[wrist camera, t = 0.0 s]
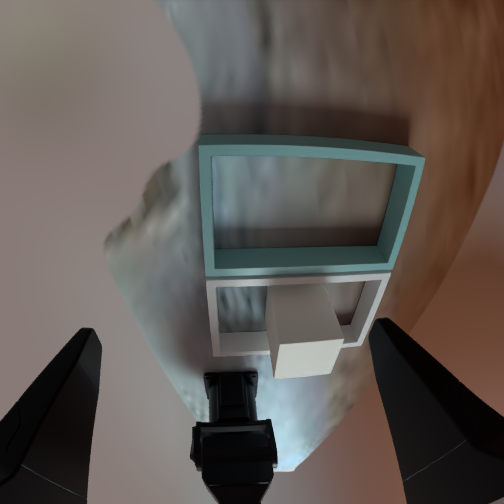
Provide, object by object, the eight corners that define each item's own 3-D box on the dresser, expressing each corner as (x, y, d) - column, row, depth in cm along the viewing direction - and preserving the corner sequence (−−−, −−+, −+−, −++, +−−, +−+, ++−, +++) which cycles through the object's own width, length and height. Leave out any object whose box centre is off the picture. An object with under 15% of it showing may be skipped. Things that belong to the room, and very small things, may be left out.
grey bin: (354, 328, 33) (361, 345, 31) (213, 337, 32) (213, 356, 30) (380, 255, 27) (391, 272, 25) (206, 260, 26) (205, 280, 24)
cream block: (313, 315, 31) (330, 373, 26) (264, 319, 31) (273, 379, 25) (322, 278, 28) (344, 338, 23) (268, 281, 28) (279, 344, 22)
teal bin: (381, 252, 27) (392, 269, 25) (206, 256, 26) (205, 276, 24) (408, 146, 21) (425, 158, 19) (200, 134, 20) (198, 145, 18)
